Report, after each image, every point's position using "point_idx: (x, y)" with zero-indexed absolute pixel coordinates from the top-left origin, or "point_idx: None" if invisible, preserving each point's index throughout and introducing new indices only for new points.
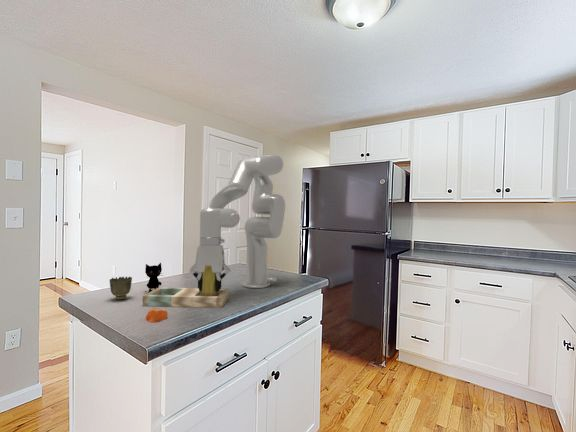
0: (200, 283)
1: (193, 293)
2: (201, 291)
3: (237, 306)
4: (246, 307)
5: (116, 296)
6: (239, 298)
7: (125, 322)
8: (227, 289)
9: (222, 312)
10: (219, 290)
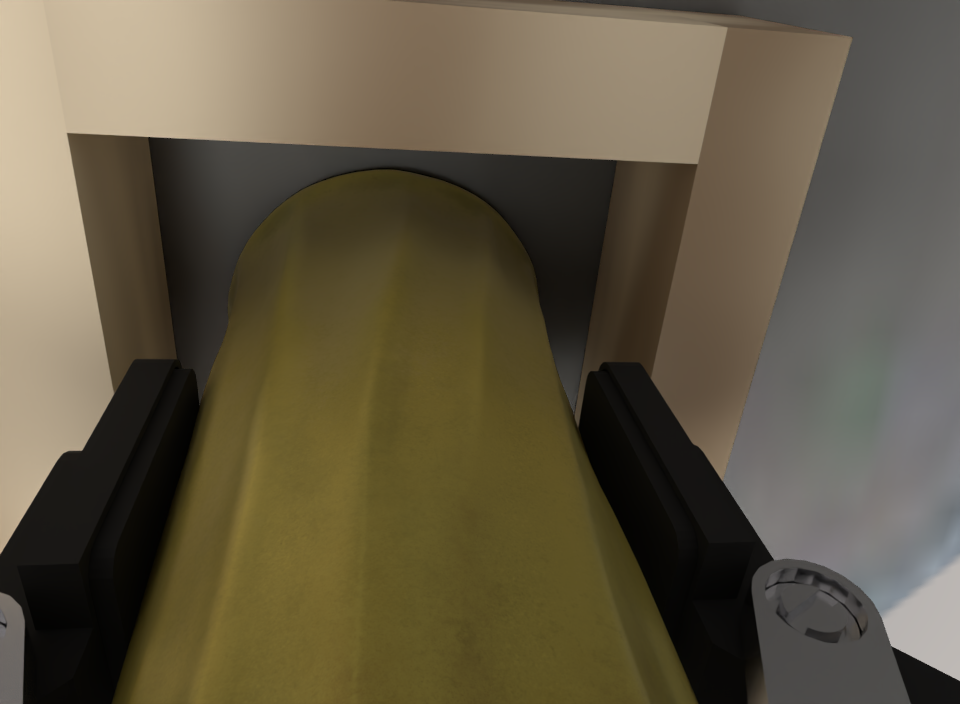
0: None
1: (37, 482)
2: (88, 157)
3: (838, 463)
4: (946, 487)
5: None
6: (943, 45)
7: None
8: (802, 91)
9: None
10: (588, 156)
